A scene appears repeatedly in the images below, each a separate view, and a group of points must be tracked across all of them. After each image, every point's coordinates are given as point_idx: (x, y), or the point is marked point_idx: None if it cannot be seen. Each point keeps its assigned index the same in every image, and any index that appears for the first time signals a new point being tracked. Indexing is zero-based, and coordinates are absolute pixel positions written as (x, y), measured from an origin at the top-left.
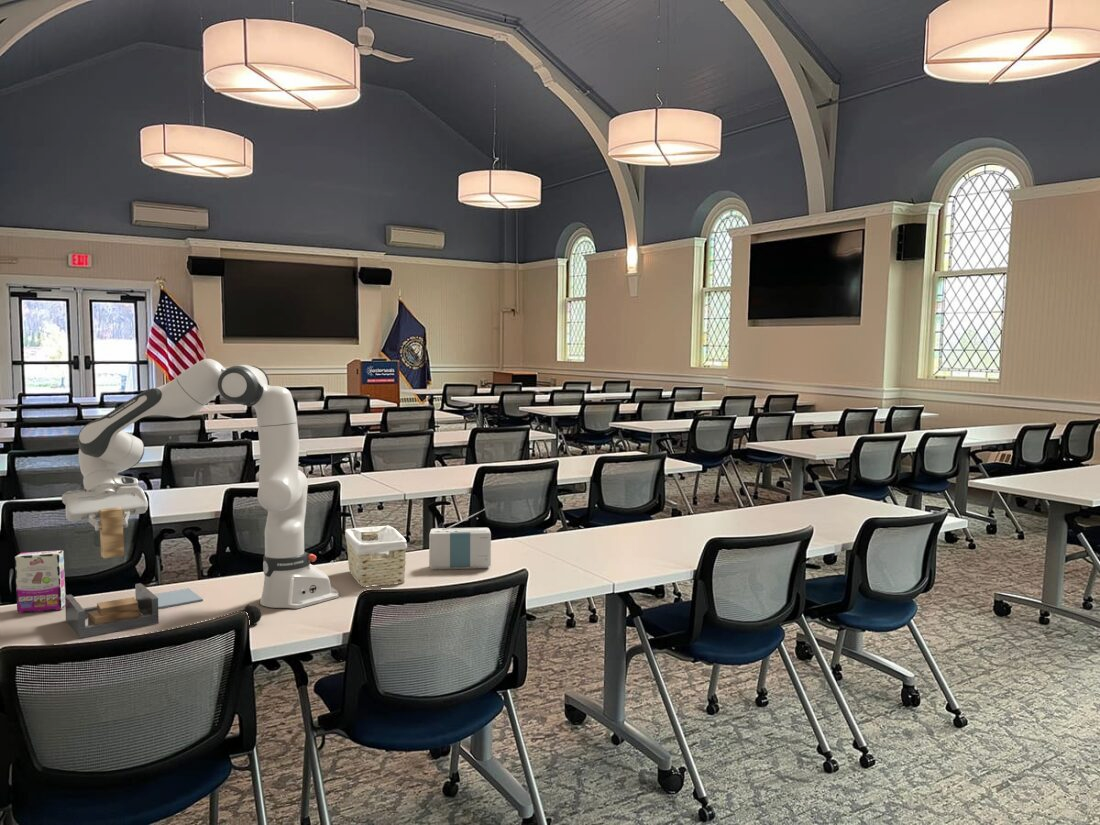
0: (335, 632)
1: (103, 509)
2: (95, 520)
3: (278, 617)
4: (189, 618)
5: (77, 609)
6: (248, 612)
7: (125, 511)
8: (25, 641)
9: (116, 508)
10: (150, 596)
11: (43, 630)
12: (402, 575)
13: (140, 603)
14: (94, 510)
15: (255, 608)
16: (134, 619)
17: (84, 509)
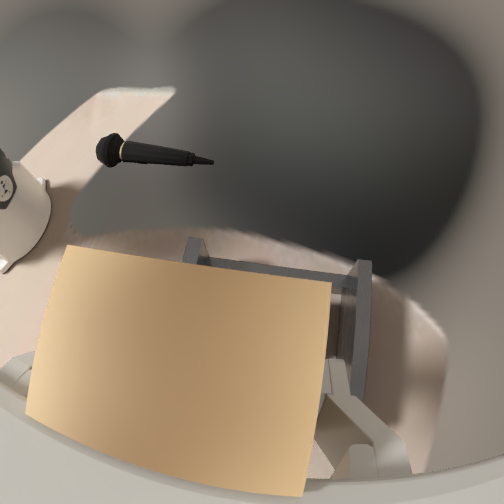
0: (99, 95)
1: (252, 445)
2: (349, 411)
3: (79, 164)
4: (146, 250)
5: (369, 281)
6: (118, 137)
7: (21, 385)
8: (429, 339)
9: (78, 360)
10: (193, 262)
11: (392, 390)
12: None
13: None
14: (371, 493)
15: (106, 136)
16: (247, 262)
17: (487, 499)
